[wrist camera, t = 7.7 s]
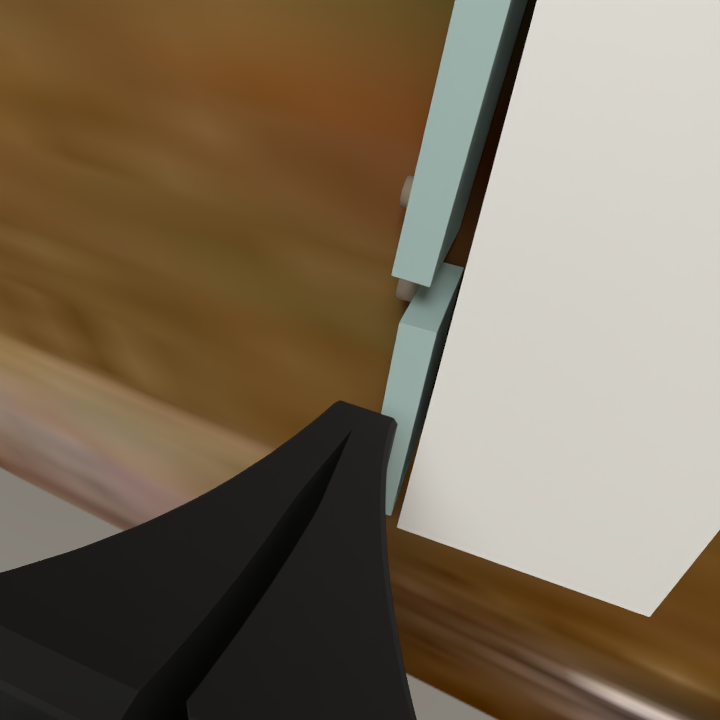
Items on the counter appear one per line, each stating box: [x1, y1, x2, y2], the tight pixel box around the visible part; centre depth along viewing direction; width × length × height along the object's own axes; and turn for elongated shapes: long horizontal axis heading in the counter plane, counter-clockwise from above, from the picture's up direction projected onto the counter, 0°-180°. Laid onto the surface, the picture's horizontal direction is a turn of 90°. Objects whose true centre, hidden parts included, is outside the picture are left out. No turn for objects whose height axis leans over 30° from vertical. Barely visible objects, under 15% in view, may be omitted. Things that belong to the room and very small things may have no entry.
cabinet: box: [381, 0, 720, 617], centre depth 14 cm, size 10×18×5 cm, turn 172°
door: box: [392, 0, 528, 287], centre depth 12 cm, size 2×10×5 cm, turn 169°
